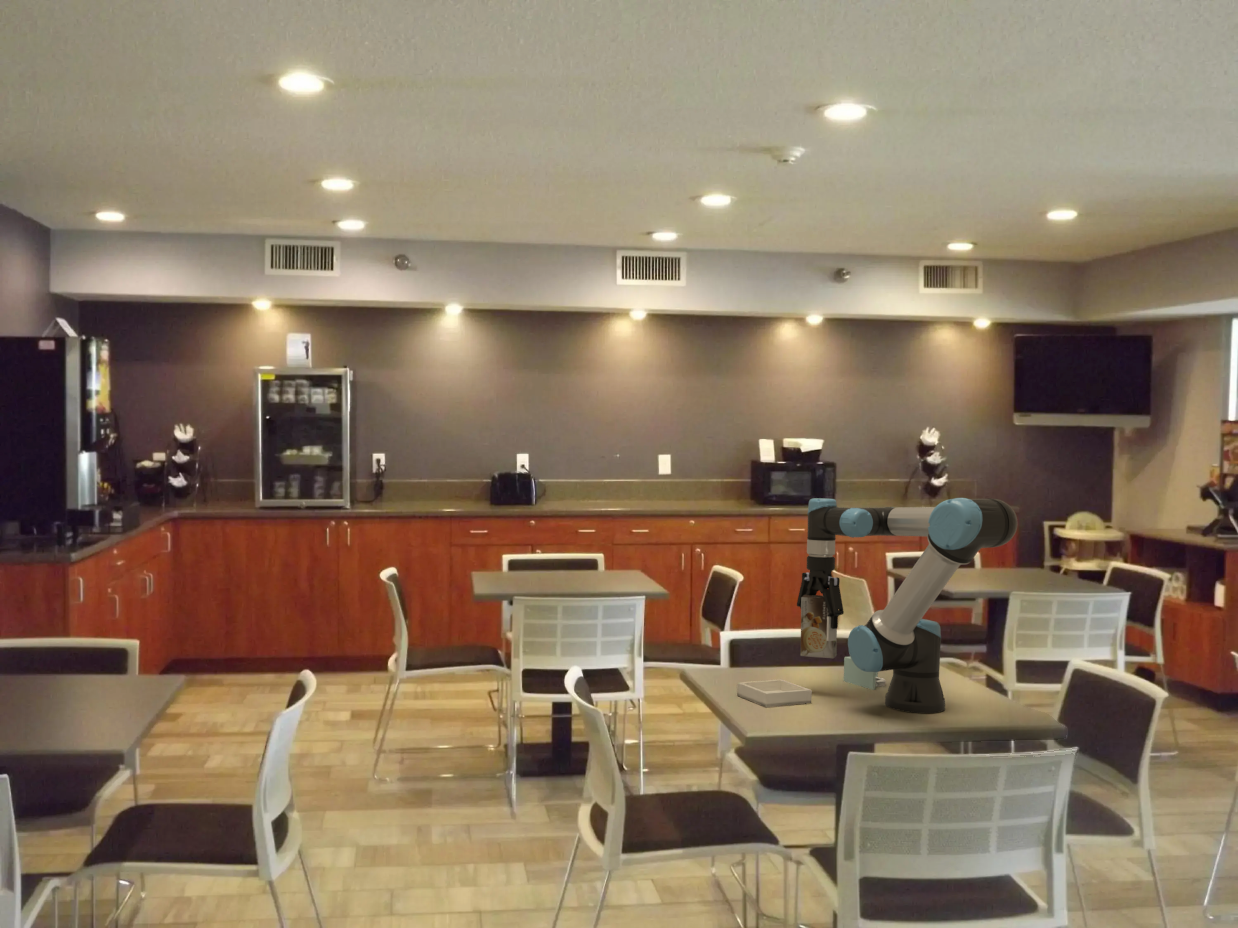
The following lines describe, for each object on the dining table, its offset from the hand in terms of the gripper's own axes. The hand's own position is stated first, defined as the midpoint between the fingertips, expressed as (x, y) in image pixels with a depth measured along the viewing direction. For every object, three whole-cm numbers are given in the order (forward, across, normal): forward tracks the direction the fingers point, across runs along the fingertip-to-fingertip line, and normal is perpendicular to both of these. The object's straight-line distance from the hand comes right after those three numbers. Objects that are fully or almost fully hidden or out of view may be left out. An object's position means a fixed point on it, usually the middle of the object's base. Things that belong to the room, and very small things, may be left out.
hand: (818, 637), depth 306 cm
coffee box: (+5, 0, 0) cm, 5 cm away
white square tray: (+15, -2, +15) cm, 22 cm away
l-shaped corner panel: (+16, +7, -24) cm, 30 cm away
